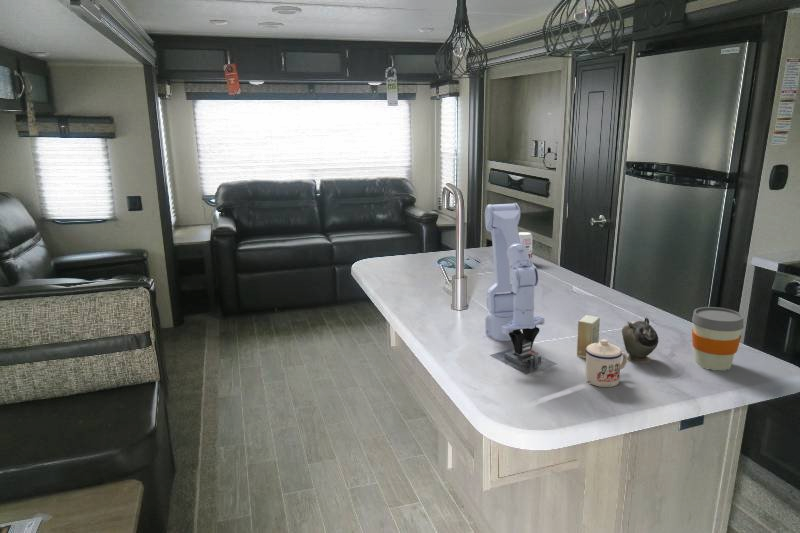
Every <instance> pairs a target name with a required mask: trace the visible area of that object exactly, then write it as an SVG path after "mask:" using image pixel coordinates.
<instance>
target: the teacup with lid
mask: <svg viewBox="0 0 800 533" xmlns="http://www.w3.org/2000/svg"><path fill="white" fill-rule="evenodd" d="M586 352H587V354H586V358H585V378H586V379H587V380H586V381H587V383H589V384H591V385H593V386H596V387H601V388H612V387H616V386H617V385H618V384H619V383H620V373H621V370H622V369H623V368H625V367H626V366H627V363H628V360H627V357H628V355H627V353H625V352H624V351H622V350H621V348H620V347H618V346H617V345H615V344H612V343H610V342H609V340H608V339H605V338H603V339H600V341H599V342H598V343H593V344H590V345H588V346H587V348H586ZM621 356H622V357H621Z"/></svg>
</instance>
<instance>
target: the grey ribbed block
mask: <svg viewBox="0 0 800 533" xmlns="http://www.w3.org/2000/svg"><path fill="white" fill-rule="evenodd" d="M531 343H532V342H531V341H529V340H527V339H525V338H524V340H523V345H522V354H520V355H519V354H517V353H515V356H517V357H519V358H521V359H524V358H527V357H530V355H531V353H530V351H532V349H530V347H531Z"/></svg>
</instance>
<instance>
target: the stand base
mask: <svg viewBox="0 0 800 533" xmlns="http://www.w3.org/2000/svg"><path fill="white" fill-rule="evenodd" d="M530 353H531V355H530V357H527V358H524V359H521V358H519V357H517V356H515V350H514V347H512V348H509V349H505V350H502V351H499V352H495V353H492V354H489V356H490V357H491V358H493V359H496V360H497V361H500V362H501V363H503V364H505V365H507V366H509V367H511V368H512V369H515V370H516V371H518V372H520V373H522V374H524V375H528V374H531V373H535V372H538V371H542V370H544V369H547V368H551V367H553V366H556V365H558V363H557V362H555V361H552V360H550V359H548V358H546V357H544V356H542V355H540V354H539V352H537V351H534V350H531V351H530Z"/></svg>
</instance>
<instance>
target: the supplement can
mask: <svg viewBox="0 0 800 533" xmlns="http://www.w3.org/2000/svg"><path fill="white" fill-rule="evenodd" d="M518 232H519V231H518ZM519 237H520V242H521V244H522V245H524V246H525V247H526V249H527V252H528V256H529V259H530V262H531V263H533V234H532V232H529V231H520V232H519Z"/></svg>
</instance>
